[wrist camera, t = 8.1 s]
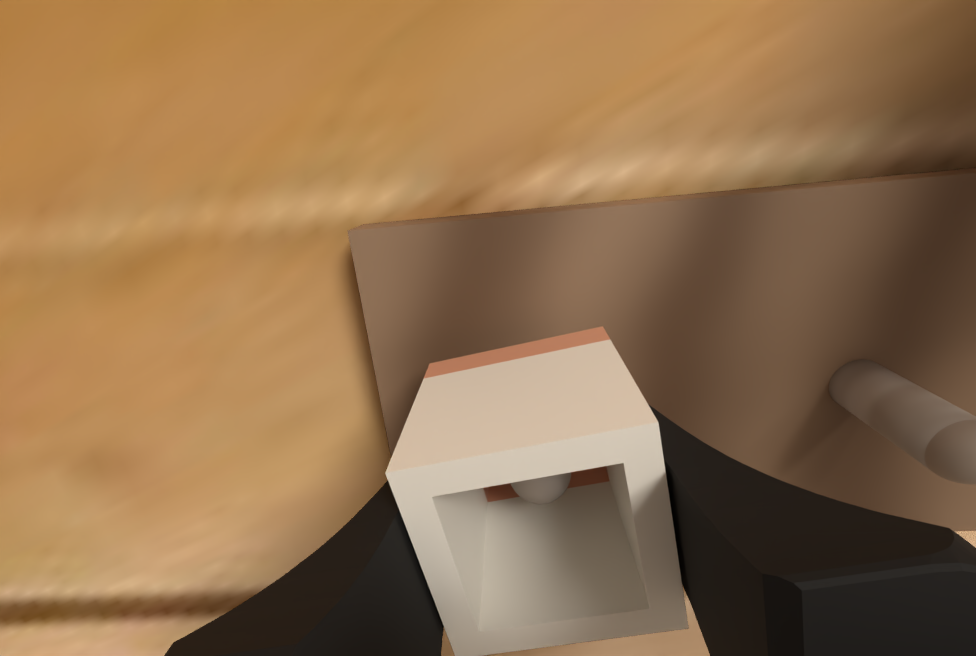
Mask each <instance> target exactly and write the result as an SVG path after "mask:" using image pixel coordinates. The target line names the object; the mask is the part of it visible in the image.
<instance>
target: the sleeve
mask: <svg viewBox="0 0 976 656" xmlns="http://www.w3.org/2000/svg"><path fill="white" fill-rule="evenodd" d="M570 472H571V479H570V482H569V485H568V487H567V489H566V491H565V492H564V494H563V495H562V496H560V497H559V498H558V499H557V500H555V501H553V502H550V503H547V504H534V503H530V502H528V501H526V500H524V499H523V498H521V497H520V496H519V495H518V494H517V493H516V492H515V491H514V489H513V488H512V486H511V484H510V483H513V482H519V481H524V480H530V479H536V478H541V477H547V476H553V475H558V474H564V473H570ZM385 474H386V476H387V479H388V482H389V484H390V487H391V489H392V492H393V495H394V497H395V500H396V503H397V505H398V508H399V510H400V513H401V516H402V518H403V521H404V523H405V526H406V529H407V531H408V534H409V537H410V539H411V542H412V544H413V547H414V550H415V552H416V555H417V557H418V560H419V563H420V565H421V568H422V571H423V573H424V576H425V578H426V581H427V584H428V586H429V589H430V591H431V594H432V597H433V599H434V602H435V605H436V607H437V610H438V612H439V615H440V618H441V620H442V623H443V625H444V628H445V631H446V633H447V636H448V639H449V641H450V644H451V646H452V649H453V652H454V654H455V656H482V655H490V654H498V653H505V652H513V651H521V650H528V649H536V648H544V647H551V646H559V645H566V644H574V643H582V642H589V641H597V640H605V639H612V638H620V637H628V636H635V635H643V634H651V633H658V632H666V631H674V630H681V629H689V628H688V621H687V614H686V607H685V600H684V594H683V587H682V580H681V573H680V566H679V560H678V553H677V546H676V539H675V532H674V526H673V519H672V512H671V505H670V498H669V491H668V485H667V478H666V471H665V464H664V457H663V451H662V444H661V437H660V430H659V423H658V421H657V419H656V417H655V416H654V414H653V412H652V410H651V409H650V407H649V405H648V404H647V402H646V400H645V398H644V397H643V395H642V393H641V391H640V390H639V388H638V386H637V385H636V383H635V381H634V379H633V378H632V376H631V374H630V372H629V371H628V369H627V367H626V366H625V364H624V362H623V360H622V359H621V357H620V355H619V353H618V352H617V350H616V348H615V347H614V345H613V343H612V341H611V340H610V338H609V336H608V334H607V333H606V331H605V329H604V328H603V326H602V327H597V328H593V329H588V330H583V331H579V332H574V333H569V334H565V335H560V336H555V337H551V338H546V339H541V340H537V341H532V342H527V343H523V344H518V345H513V346H509V347H504V348H499V349H495V350H490V351H485V352H481V353H476V354H471V355H467V356H462V357H457V358H453V359H448V360H443V361H439V362H434V363H430V364H429V366H428V369H427V371H426V374H425V376H424V379H423V381H422V384H421V386H420V388H419V391H418V393H417V396H416V398H415V401H414V403H413V406H412V408H411V411H410V413H409V416H408V418H407V421H406V423H405V425H404V428H403V430H402V433H401V435H400V438H399V440H398V443H397V445H396V448H395V450H394V453H393V455H392V458H391V460H390V462H389V465H388V467H387V470H386V472H385Z"/></svg>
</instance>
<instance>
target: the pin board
mask: <svg viewBox="0 0 976 656" xmlns="http://www.w3.org/2000/svg"><path fill="white" fill-rule="evenodd" d="M348 236H349V241H350V246H351V251H352V256H353V262H354V267H355V272H356V277H357V282H358V288H359V293H360V298H361V303H362V308H363V313H364V319H365V324H366V329H367V334H368V339H369V345H370V350H371V355H372V360H373V365H374V370H375V376H376V381H377V386H378V391H379V396H380V402H381V407H382V412H383V417H384V422H385V427H386V433H387V438H388V443H389V448H390V453H391V458H392V455H393V453H394V450H395V448H396V445H397V443H398V440H399V438H400V435H401V433H402V430H403V428H404V425H405V423H406V421H407V418H408V416H409V413H410V411H411V408H412V406H413V403H414V401H415V398H416V396H417V393H418V391H419V388H420V386H421V384H422V381H423V379H424V376H425V374H426V371H427V369H428V366H429V364H430V363H434V362H439V361H443V360H448V359H453V358H457V357H462V356H467V355H471V354H476V353H481V352H485V351H490V350H495V349H499V348H504V347H509V346H513V345H518V344H523V343H527V342H532V341H537V340H541V339H546V338H551V337H555V336H560V335H565V334H569V333H574V332H579V331H583V330H588V329H593V328H597V327H602V326H603V328H604V329H605V331H606V333H607V334H608V336H609V338H610V340H611V341H612V343H613V345H614V347H615V348H616V350H617V352H618V353H619V355H620V357H621V359H622V360H623V362H624V364H625V366H626V367H627V369H628V371H629V372H630V374H631V376H632V378H633V379H634V381H635V383H636V385H637V386H638V388H639V390H640V391H641V393H642V395H643V397H644V398H645V400H646V402H647V404H649V405H650V406H652V407H653V408H655V409H656V410H657V411H659V412H660V413H661V414H663V415H664V416H665V417H667V418H668V419H670V420H671V421H672V422H674V423H675V424H677V425H678V426H680V427H681V428H683V429H684V430H685V431H687V432H689V433H690V434H692V435H693V436H695V437H696V438H698V439H699V440H701V441H703V442H704V443H706V444H707V445H709V446H711V447H713V448H715V449H716V450H718V451H720V452H722V453H723V454H725V455H727V456H729V457H731V458H733V459H735V460H737V461H739V462H741V463H743V464H745V465H747V466H749V467H751V468H754V469H756V470H758V471H760V472H762V473H765V474H767V475H769V476H771V477H774V478H776V479H779V480H781V481H784V482H786V483H789V484H792V485H794V486H797V487H800V488H803V489H805V490H808V491H811V492H814V493H816V494H819V495H823V496H826V497H829V498H832V499H835V500H838V501H842V502H845V503H849V504H852V505H856V506H859V507H863V508H866V509H869V510H873V511H877V512H881V513H885V514H889V515H894V516H898V517H903V518H907V519H912V520H916V521H920V522H925V523H929V524H934V525H938V526H943V527H947V528H950V529H951V530H953V531H976V168H968V169H957V170H946V171H935V172H925V173H914V174H903V175H892V176H881V177H871V178H860V179H849V180H838V181H827V182H817V183H806V184H795V185H784V186H773V187H763V188H752V189H741V190H730V191H720V192H709V193H698V194H687V195H676V196H666V197H655V198H644V199H633V200H622V201H612V202H601V203H590V204H579V205H568V206H558V207H547V208H536V209H525V210H514V211H504V212H493V213H482V214H471V215H460V216H450V217H439V218H428V219H417V220H406V221H396V222H385V223H374V224H363V225H361V226H358V227H356V228H353V229H351V230H348ZM570 479H571V472H570V473H564V474H558V475H553V476H547V477H541V478H536V479H530V480H524V481H519V482H513V483H510V484H511V486H512V488H513V489H514V491H515V492H516V493H517V494H518V495H519V496H520V497H521V498H523V499H524V500H526V501H528V502H530V503H534V504H547V503H550V502H553V501H555V500H557V499H558V498H559V497H560V496H562V495H563V494H564V492H565V491H566V489H567V487H568V485H569V482H570Z"/></svg>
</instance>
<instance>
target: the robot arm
mask: <svg viewBox="0 0 976 656" xmlns="http://www.w3.org/2000/svg"><path fill="white" fill-rule="evenodd" d="M648 405H649V404H648ZM649 407H650V409H651V410H652V412H653V414H654V416H655V417H656V419H657V421H658V423H659V430H660V437H661V444H662V451H663V457H664V464H665V471H666V478H667V485H668V491H669V498H670V505H671V512H672V519H673V526H674V532H675V539H676V546H677V553H678V560H679V566H680V573H681V580H682V584H683V587H684V589H685V591H686V594H687V596H688V598H689V600H690V603H691V605H692V608H693V610H694V613H695V616H696V618H697V621H698V624H699V626H700V629H701V632H702V634H703V637H704V640H705V642H706V645H707V648H708V651H709V653H710V656H976V548H975V547H974V546H973V545H971V544H970V543H969V542H967V541H966V540H965V539H963V538H962V537H961V536H959V535H958V534H957V533H955V532H954V531H953V530H951V529H950V528H947V527H943V526H938V525H934V524H929V523H925V522H920V521H916V520H912V519H907V518H903V517H898V516H894V515H889V514H885V513H881V512H877V511H873V510H869V509H866V508H863V507H859V506H856V505H852V504H849V503H845V502H842V501H838V500H835V499H832V498H829V497H826V496H823V495H819V494H816V493H814V492H811V491H808V490H805V489H803V488H800V487H797V486H794V485H792V484H789V483H786V482H784V481H781V480H779V479H776V478H774V477H771V476H769V475H767V474H765V473H762V472H760V471H758V470H756V469H754V468H751V467H749V466H747V465H745V464H743V463H741V462H739V461H737V460H735V459H733V458H731V457H729V456H727V455H725V454H723V453H722V452H720V451H718V450H716V449H715V448H713V447H711V446H709V445H707V444H706V443H704V442H703V441H701V440H699V439H698V438H696V437H695V436H693V435H692V434H690V433H689V432H687V431H685V430H684V429H683V428H681V427H680V426H678V425H677V424H675V423H674V422H672V421H671V420H670V419H668V418H667V417H665V416H664V415H663V414H661V413H660V412H659V411H657V410H656V409H655V408H653V407H652V406H650V405H649ZM443 628H444V625H443V623H442V620H441V618H440V615H439V612H438V610H437V607H436V605H435V602H434V599H433V597H432V594H431V591H430V589H429V586H428V584H427V581H426V578H425V576H424V573H423V571H422V568H421V565H420V563H419V560H418V557H417V555H416V552H415V550H414V547H413V544H412V542H411V539H410V537H409V534H408V531H407V529H406V526H405V523H404V521H403V518H402V516H401V513H400V510H399V508H398V505H397V503H396V500H395V497H394V495H393V492H392V489H391V487H390V484H389V482H388V481H387V482H386V483H385V484H384V485H383V487H382V488H381V489H380V490H379V491H378V492H377V493H376V494H375V495H374V496H373V497H372V498H371V500H370V501H369V502H368V503H367V504H366V505H365V506H364V507H363V508H362V509H361V510H360V511H359V512H358V513H357V514H356V515H355V516H354V517H353V518H352V519H351V520H350V521H349V522H348V523H347V524H346V525H345V526H344V527H343V528H342V529H341V530H339V531H338V532H337V533H336V534H335V535H334V536H333V537H332V538H330V539H329V540H328V541H327V542H326V543H325V544H324V545H322V546H321V547H320V548H319V549H318V550H316V551H315V552H314V553H313V554H311V555H310V556H309V557H307V558H306V559H305V560H303V561H302V562H301V563H300V564H298V565H297V566H296V567H294V568H293V569H292V570H290V571H289V572H288V573H286V574H285V575H284V576H282V577H281V578H280V579H278V580H277V581H275V582H274V583H272V584H271V585H270V586H268V587H267V588H265V589H264V590H262V591H261V592H259V593H258V594H256V595H255V596H253V597H251V598H250V599H248V600H247V601H245V602H244V603H242V604H240V605H239V606H237V607H236V608H234V609H232V610H231V611H229V612H227V613H226V614H224V615H222V616H220V617H219V618H217V619H215V620H213V621H212V622H210V623H208V624H206V625H205V626H203V627H201V628H199V629H197V630H196V631H194V632H192V633H190V634H189V635H187V636H185V637H183V638H181V639H179V640H177V641H176V642H174V643H173V644H172V645H171V647H170V648H169V650H168V651H167V653H166V654H165V655H164V656H441V647H442V636H443Z"/></svg>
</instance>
